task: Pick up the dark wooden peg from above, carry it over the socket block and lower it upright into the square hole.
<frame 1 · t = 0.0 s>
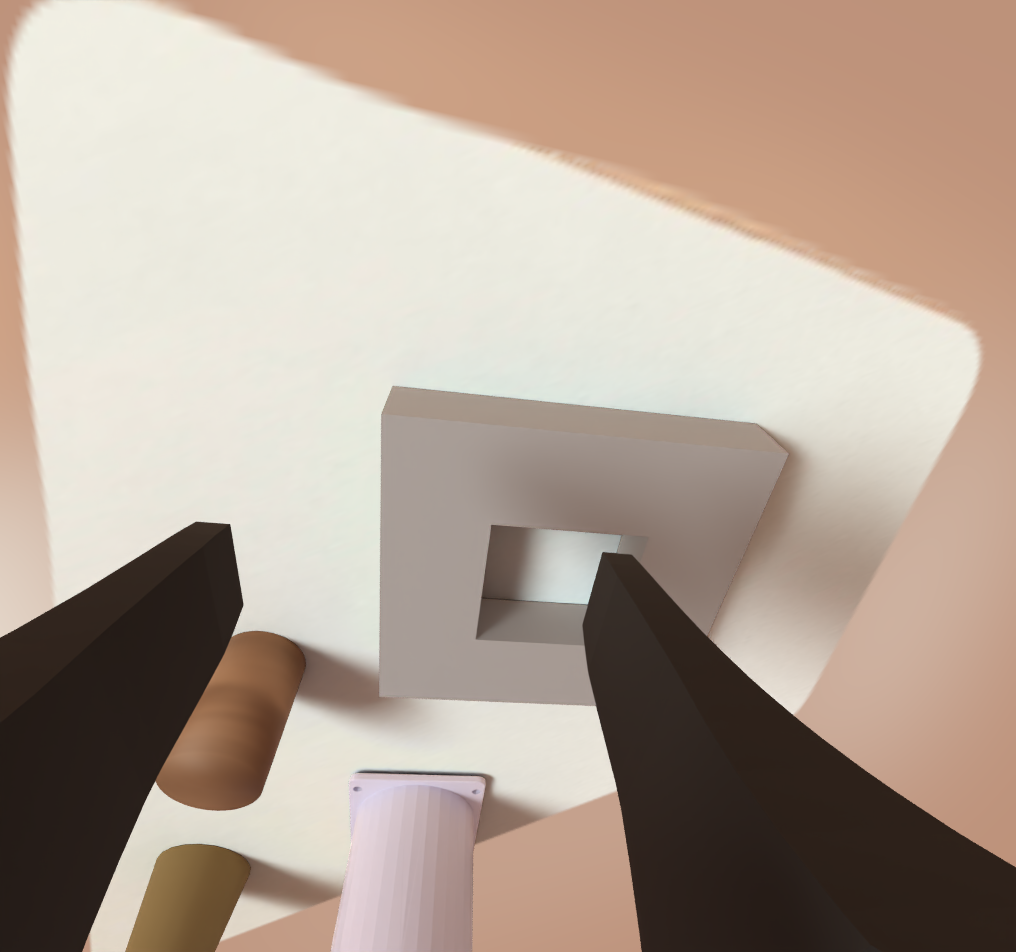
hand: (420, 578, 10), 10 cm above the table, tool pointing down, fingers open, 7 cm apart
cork: (205, 863, 36), on the table
wooden peg: (263, 660, 26), on the table
socket block: (550, 551, 23), on the table
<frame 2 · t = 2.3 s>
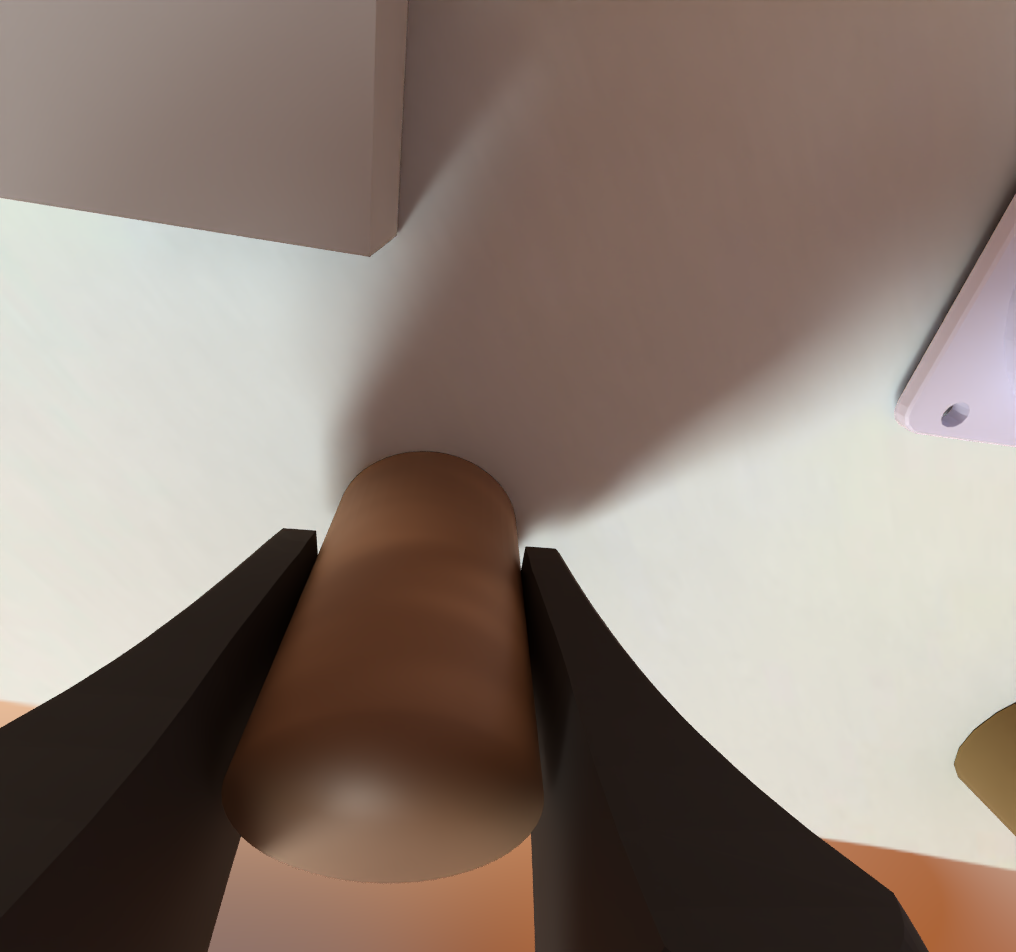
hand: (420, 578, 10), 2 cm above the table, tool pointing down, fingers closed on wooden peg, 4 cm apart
wooden peg: (427, 529, 12), on the table, touching gripper
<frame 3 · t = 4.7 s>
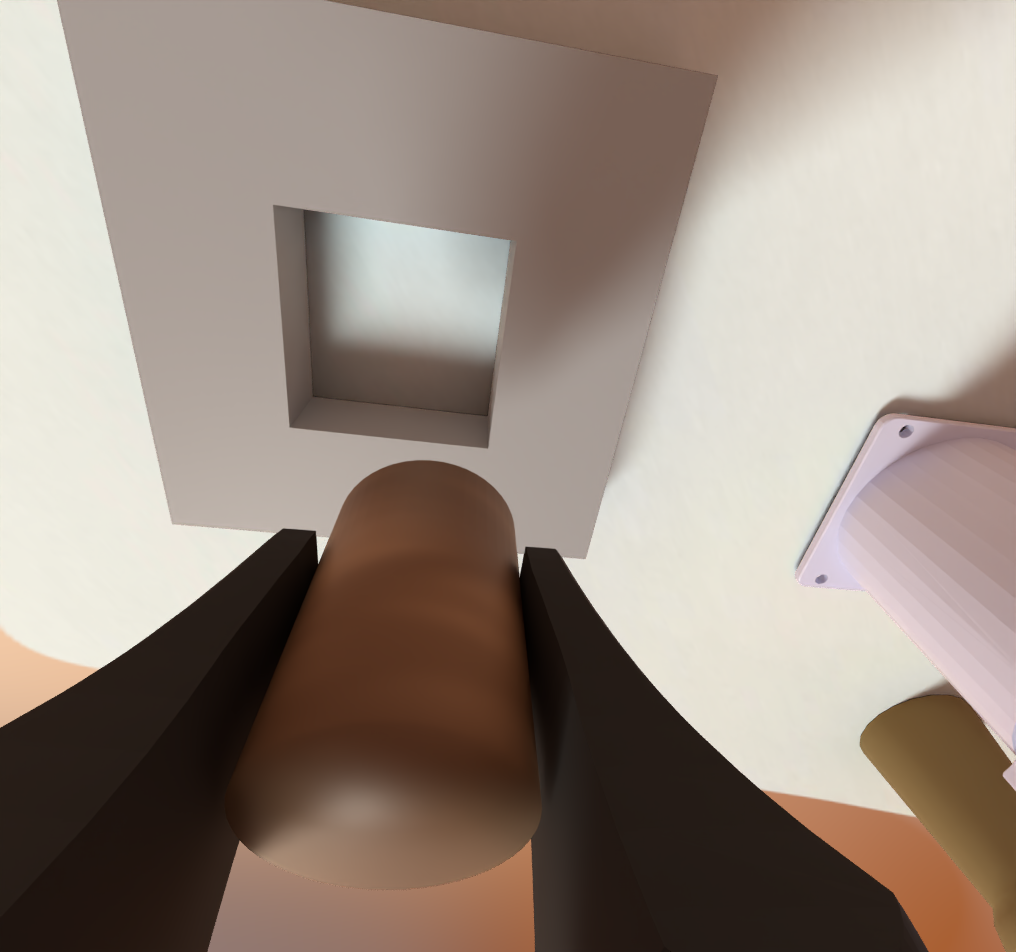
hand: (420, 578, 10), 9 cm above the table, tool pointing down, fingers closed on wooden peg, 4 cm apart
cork: (912, 726, 29), on the table
wooden peg: (427, 536, 12), point 7 cm above the table, touching gripper
socket block: (405, 319, 17), on the table
when the fingers open (4 cm above the table, at t = 7.0 s): wooden peg drops 2 cm, resting in socket block.
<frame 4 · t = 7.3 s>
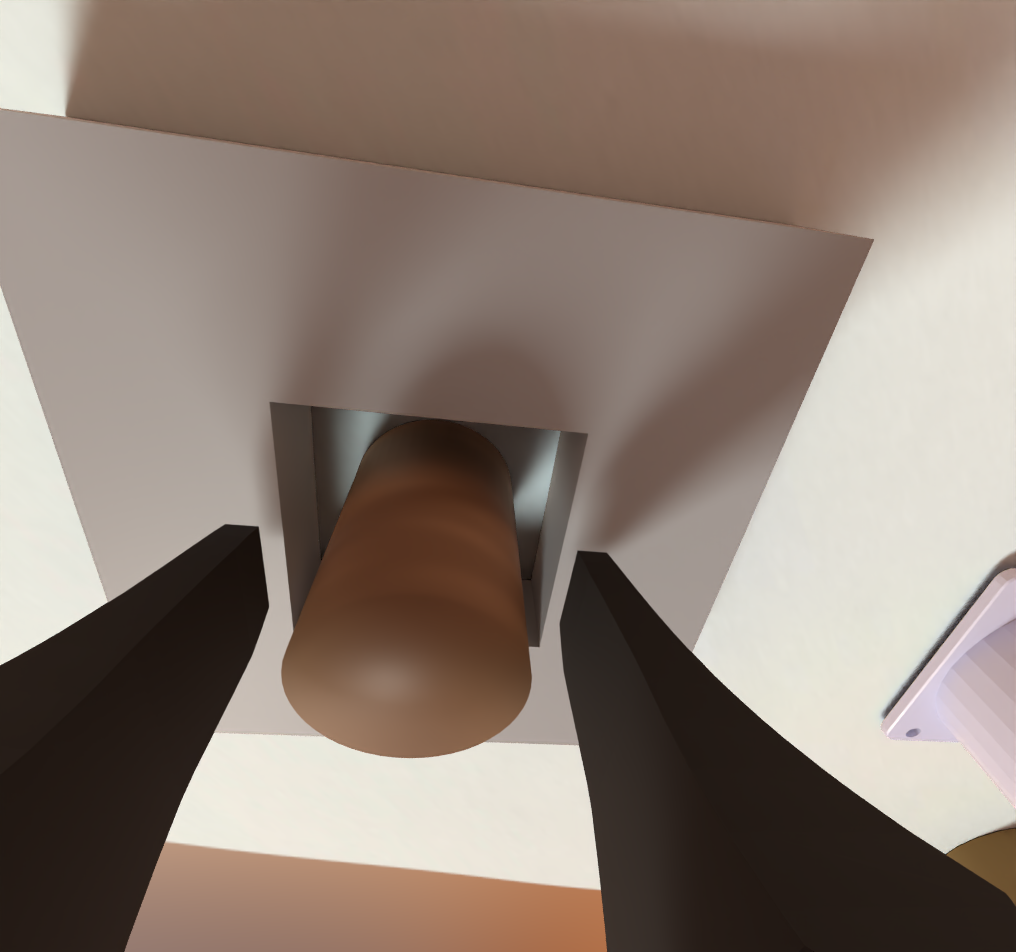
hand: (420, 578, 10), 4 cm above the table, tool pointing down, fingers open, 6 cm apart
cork: (992, 854, 26), on the table
wooden peg: (435, 489, 14), resting in socket block
socket block: (434, 484, 14), on the table
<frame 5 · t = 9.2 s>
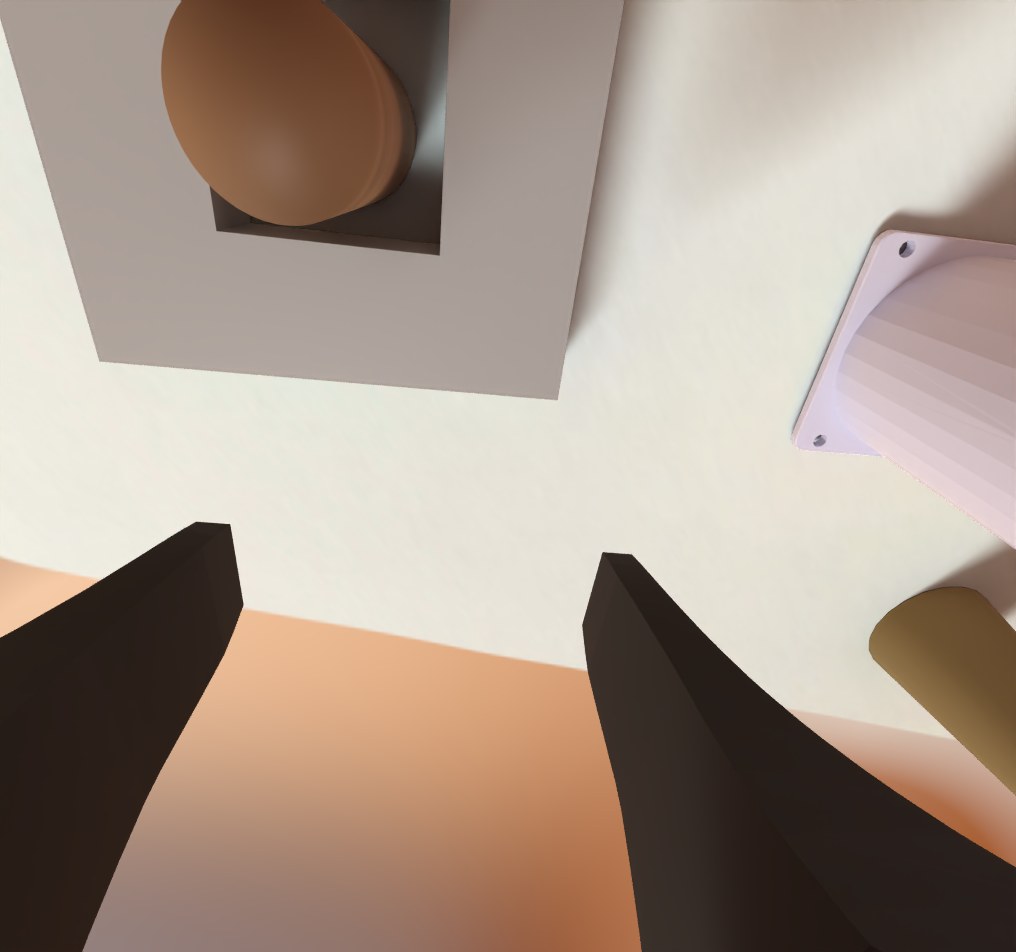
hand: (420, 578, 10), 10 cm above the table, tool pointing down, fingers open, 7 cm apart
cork: (924, 627, 28), on the table
wooden peg: (346, 128, 15), resting in socket block
socket block: (345, 120, 15), on the table
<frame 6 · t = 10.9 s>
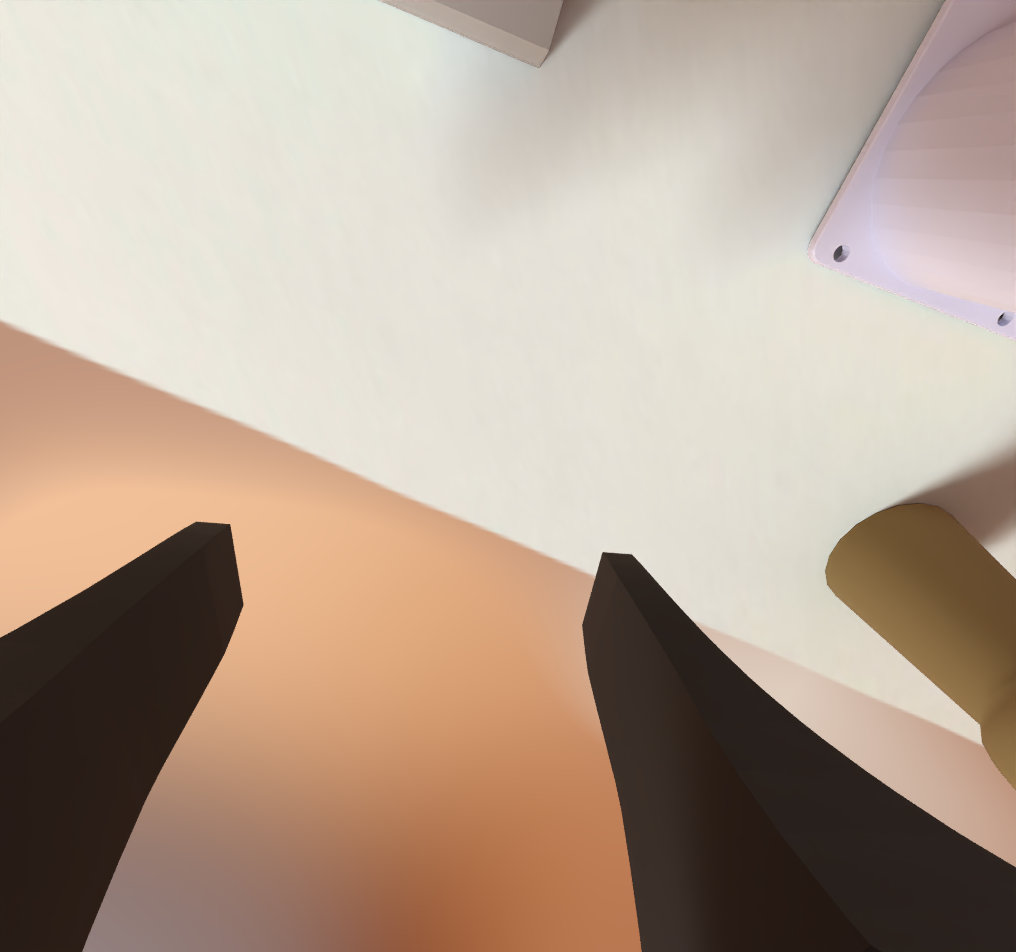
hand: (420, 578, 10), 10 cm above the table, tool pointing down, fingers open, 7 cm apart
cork: (887, 554, 25), on the table
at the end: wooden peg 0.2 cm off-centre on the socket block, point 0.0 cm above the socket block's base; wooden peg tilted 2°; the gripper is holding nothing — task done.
